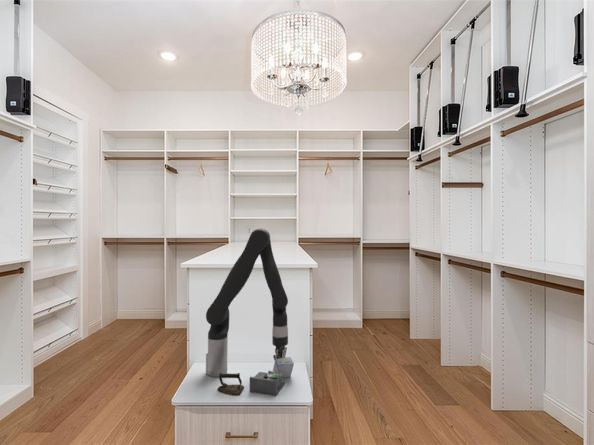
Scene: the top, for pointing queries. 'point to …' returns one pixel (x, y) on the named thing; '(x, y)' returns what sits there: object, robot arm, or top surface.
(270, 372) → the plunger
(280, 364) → the medicine box
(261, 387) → the box
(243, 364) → the top surface
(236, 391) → the clothes iron
